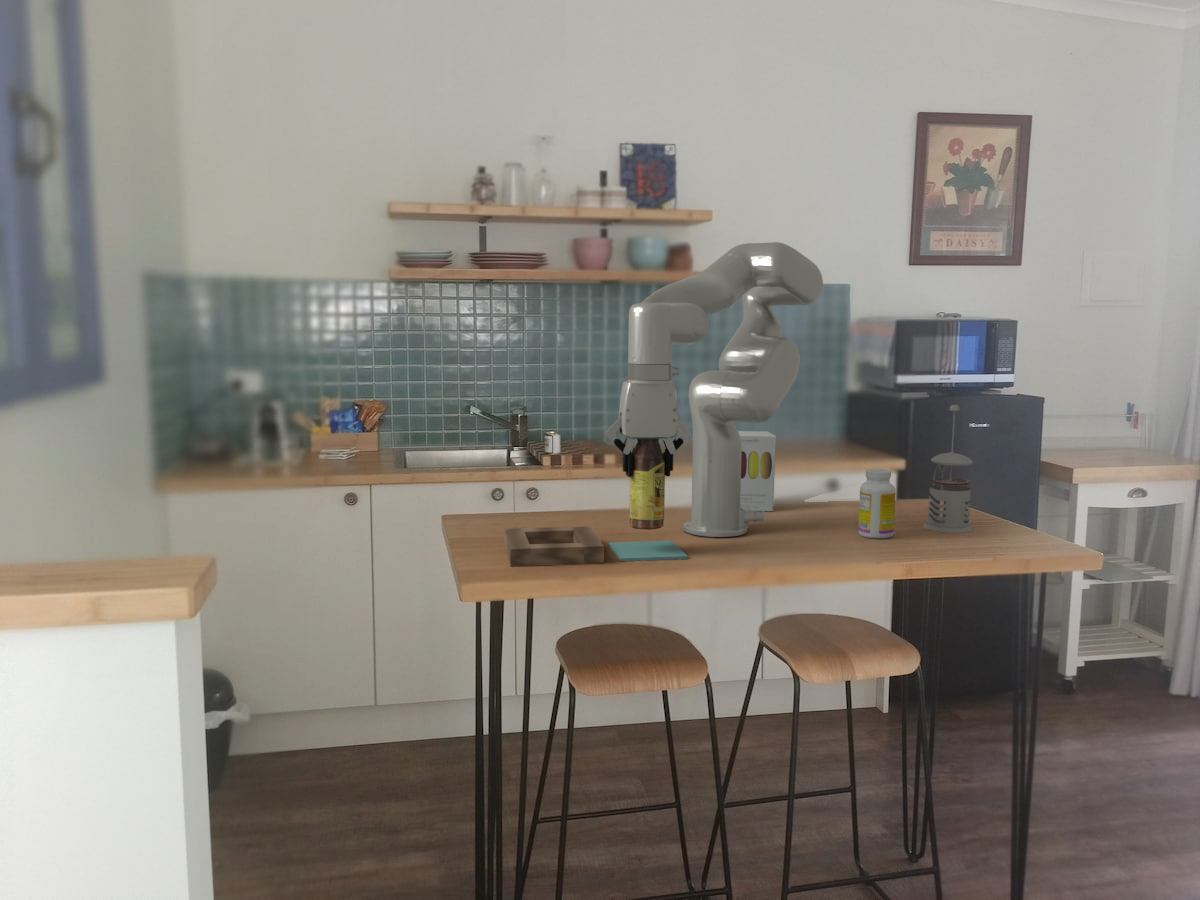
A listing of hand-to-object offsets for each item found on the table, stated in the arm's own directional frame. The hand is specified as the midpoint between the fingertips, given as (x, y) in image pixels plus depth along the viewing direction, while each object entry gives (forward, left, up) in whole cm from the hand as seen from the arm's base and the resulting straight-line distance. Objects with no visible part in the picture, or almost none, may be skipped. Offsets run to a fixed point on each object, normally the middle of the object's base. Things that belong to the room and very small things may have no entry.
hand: (647, 474), depth 174 cm
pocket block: (+17, -1, -14) cm, 22 cm away
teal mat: (0, 0, -14) cm, 14 cm away
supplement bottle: (-47, -7, -14) cm, 50 cm away
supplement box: (-31, -37, -14) cm, 50 cm away
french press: (-65, -13, -14) cm, 68 cm away
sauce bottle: (0, 0, -10) cm, 10 cm away
